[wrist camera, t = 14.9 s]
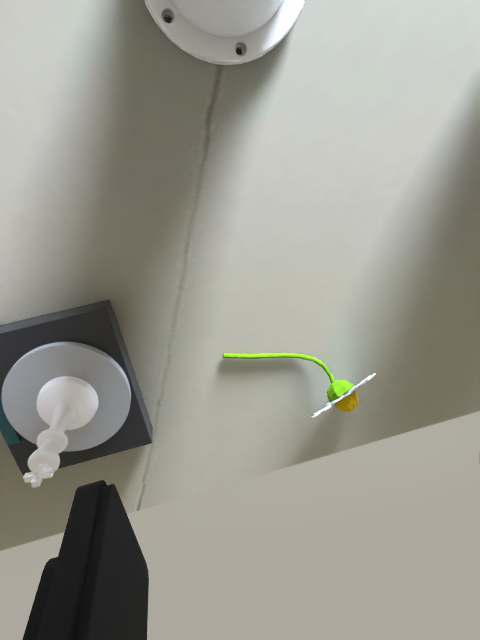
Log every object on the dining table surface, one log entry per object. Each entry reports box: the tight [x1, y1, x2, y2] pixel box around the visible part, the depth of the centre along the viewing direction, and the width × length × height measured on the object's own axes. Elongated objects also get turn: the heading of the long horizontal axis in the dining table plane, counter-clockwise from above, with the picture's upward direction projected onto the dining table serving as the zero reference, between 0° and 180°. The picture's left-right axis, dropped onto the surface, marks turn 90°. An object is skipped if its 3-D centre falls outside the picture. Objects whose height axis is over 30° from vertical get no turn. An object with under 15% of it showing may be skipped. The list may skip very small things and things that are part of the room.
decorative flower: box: [223, 353, 375, 418], centre depth 40 cm, size 8×6×15 cm
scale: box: [0, 300, 153, 476], centre depth 36 cm, size 14×12×3 cm
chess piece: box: [23, 376, 99, 488], centre depth 30 cm, size 5×5×10 cm
